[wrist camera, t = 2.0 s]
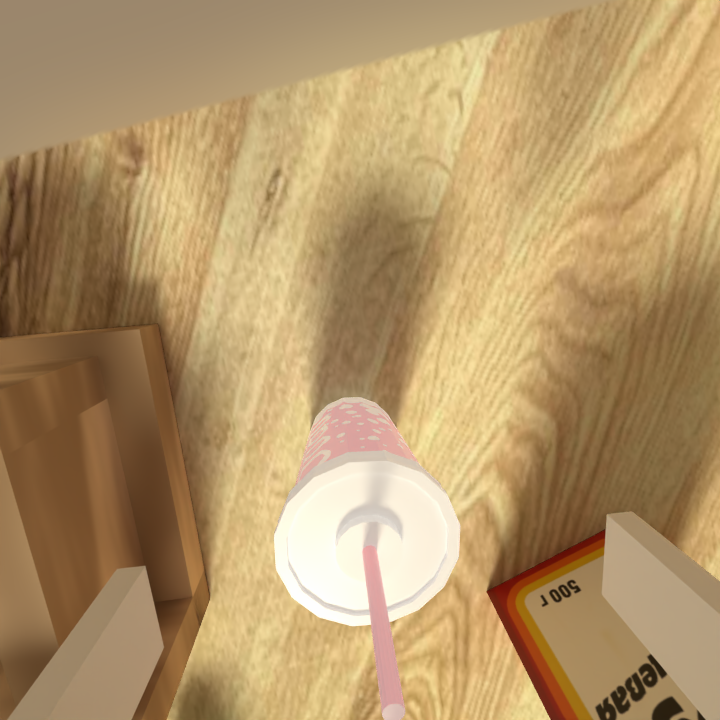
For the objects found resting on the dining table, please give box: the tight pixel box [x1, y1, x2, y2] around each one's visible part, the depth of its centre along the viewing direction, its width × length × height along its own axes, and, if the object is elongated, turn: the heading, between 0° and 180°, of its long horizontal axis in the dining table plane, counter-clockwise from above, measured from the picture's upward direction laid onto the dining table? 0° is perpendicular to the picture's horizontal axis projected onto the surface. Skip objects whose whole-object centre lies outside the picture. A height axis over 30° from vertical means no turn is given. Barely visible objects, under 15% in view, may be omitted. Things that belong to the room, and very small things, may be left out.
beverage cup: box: [274, 397, 460, 720], centre depth 15 cm, size 6×6×14 cm
